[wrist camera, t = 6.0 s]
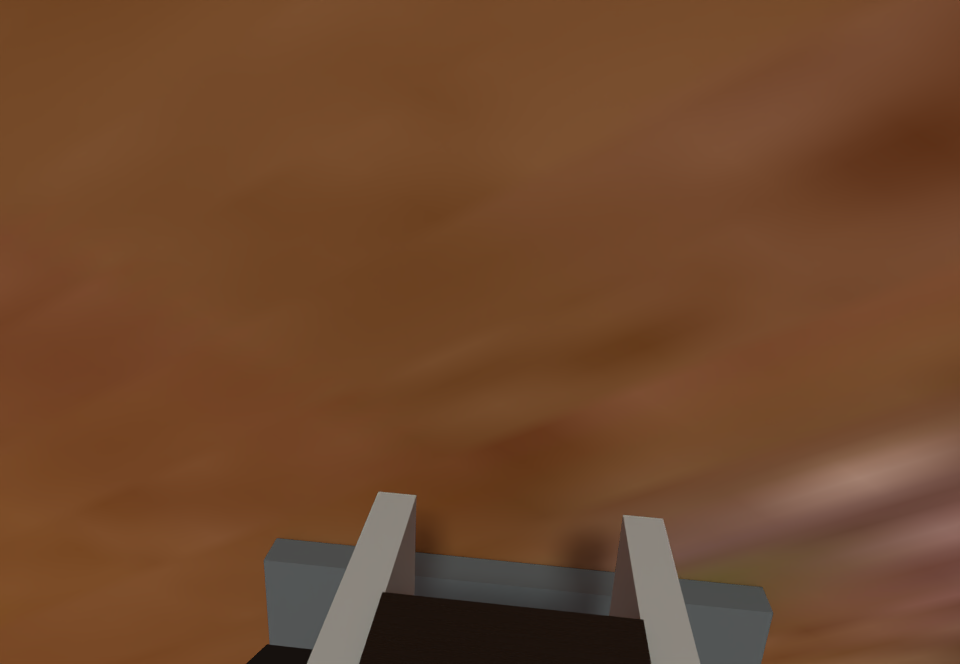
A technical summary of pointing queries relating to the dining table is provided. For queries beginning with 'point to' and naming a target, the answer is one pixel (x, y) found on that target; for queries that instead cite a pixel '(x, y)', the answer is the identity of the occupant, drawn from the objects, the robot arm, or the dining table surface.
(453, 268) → the dining table surface
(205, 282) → the dining table surface
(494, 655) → the shaft
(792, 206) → the dining table surface
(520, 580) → the shaft stand
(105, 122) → the dining table surface
